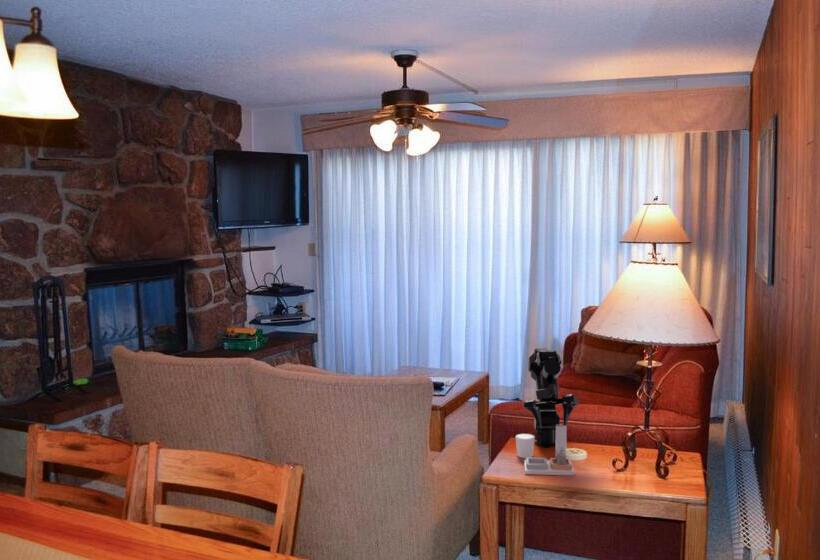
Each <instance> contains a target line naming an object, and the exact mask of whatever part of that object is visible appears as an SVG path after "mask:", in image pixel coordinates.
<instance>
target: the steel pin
mask: <svg viewBox="0 0 820 560" xmlns="http://www.w3.org/2000/svg"><path fill="white" fill-rule="evenodd" d="M567 428H568V427H567V425H564V423H560V424H557V425H556V430H555V442H556V445H555V455H554V456H555V457H554V458H555V465H566V458H567V432H568V430H567Z"/></svg>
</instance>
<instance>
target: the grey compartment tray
mask: <svg viewBox="0 0 820 560" xmlns="http://www.w3.org/2000/svg"><path fill="white" fill-rule="evenodd" d="M523 461H524V463H523V464H524V466H523V467H524V473H525V475H542V476H543V475H545V476H546V475H549V476H550V475H552V476H553V475H554V476H575V471H574V466H573V463H572V460H571V459H570V458H567V457H566V465H555V457H550V458H549V460H548V459H547V458H546V457H527V458H525V459H524V460H523Z"/></svg>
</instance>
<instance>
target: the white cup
mask: <svg viewBox="0 0 820 560" xmlns="http://www.w3.org/2000/svg"><path fill="white" fill-rule="evenodd" d="M535 438H536V436H535V435H534V434H531V433H518V434H516V435H515V444H516V445H515V446H516V455H517V457H519V458H522V459H526V458H527V457H530V458H533V457H534V450H535V444H534V442H535Z"/></svg>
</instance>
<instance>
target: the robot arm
mask: <svg viewBox="0 0 820 560" xmlns="http://www.w3.org/2000/svg"><path fill="white" fill-rule="evenodd" d="M527 364H528V365H527V368H528V372H529V374H530V378H532V380H534V381H535V386H536V390H535V395H536V399H528V400H524V402H523V409H525V410H527V411H528V412H529V413H532V415H533V416H534V418H533V427H534V430H535V431H536V441H534V445H537V446H539V447H542V448H551V447H556V425H557V424H561V423H560V422H561V417H560V415H559V413H558V412H557V407H556V406H557V405H562V411H563V412H562V413H563V415H562V416H563V424H564V425H566V426H567V424H568V422H569V419H570V417H571V413H572V412H573V410H574V409H575V408H576V406H578V405H580V401H579V398H578V397H577V396H576V395H574V394H572V393H570V394H564V395H562V398H559V391H560V387H559V384H558V376H559V375H560V373H561V370H562V367H561V365H562V359H561V356H560V354H559V352H557V350H555V349H548V348H546V347H540V348H539V347H537V348H534V351H533V353H532V354H531V355H530V356H529V357H528V363H527Z"/></svg>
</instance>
